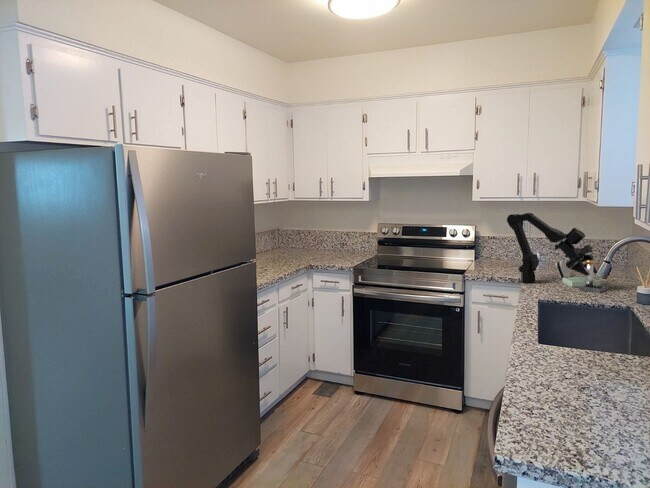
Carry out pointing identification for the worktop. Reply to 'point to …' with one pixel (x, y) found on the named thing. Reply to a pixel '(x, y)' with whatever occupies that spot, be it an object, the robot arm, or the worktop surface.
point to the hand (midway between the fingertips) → (592, 274)
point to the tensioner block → (593, 288)
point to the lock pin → (590, 271)
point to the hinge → (562, 269)
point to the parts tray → (578, 281)
